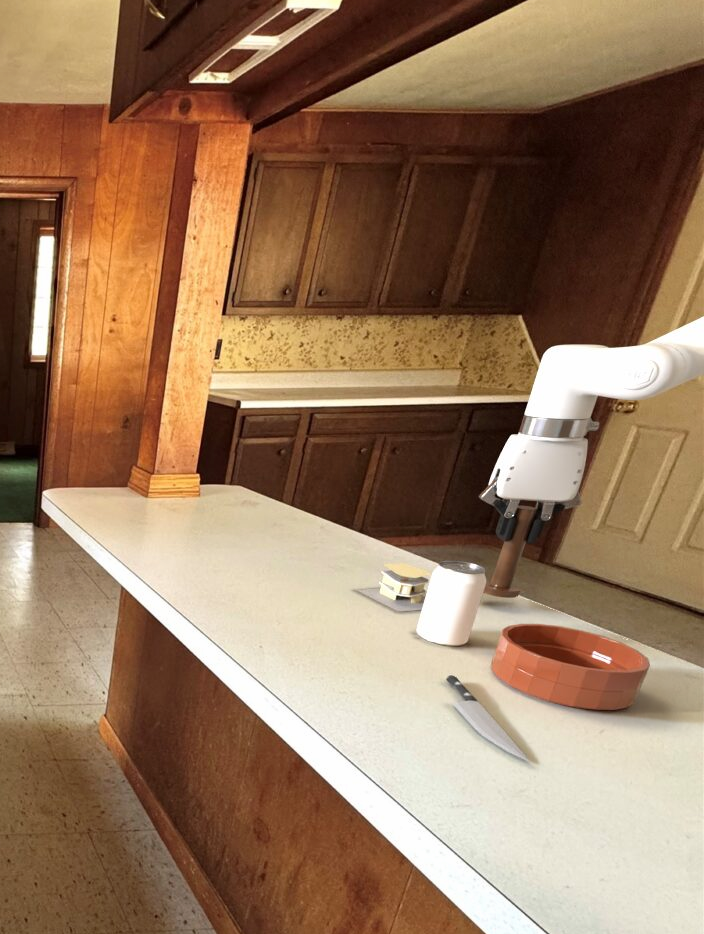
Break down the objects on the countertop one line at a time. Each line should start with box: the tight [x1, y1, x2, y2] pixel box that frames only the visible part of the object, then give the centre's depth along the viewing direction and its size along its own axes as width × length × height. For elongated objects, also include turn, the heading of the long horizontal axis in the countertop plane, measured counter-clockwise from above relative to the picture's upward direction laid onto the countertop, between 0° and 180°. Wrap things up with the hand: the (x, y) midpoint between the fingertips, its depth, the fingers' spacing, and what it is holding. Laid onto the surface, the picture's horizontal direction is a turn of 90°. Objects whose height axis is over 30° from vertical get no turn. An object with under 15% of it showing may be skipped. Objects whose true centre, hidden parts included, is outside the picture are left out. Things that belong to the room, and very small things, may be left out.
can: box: [416, 560, 487, 647], centre depth 102 cm, size 6×6×12 cm
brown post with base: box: [483, 505, 537, 599], centre depth 111 cm, size 5×5×15 cm
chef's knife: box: [445, 674, 530, 762], centre depth 84 cm, size 19×1×3 cm
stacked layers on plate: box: [356, 562, 432, 613], centre depth 118 cm, size 10×9×6 cm
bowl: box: [490, 623, 651, 711], centre depth 89 cm, size 14×14×6 cm
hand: (515, 539), depth 110 cm, fingers closed on brown post with base, 2 cm apart
